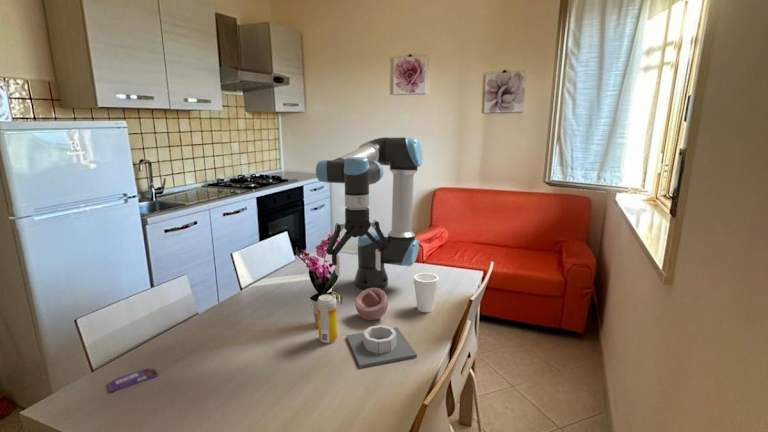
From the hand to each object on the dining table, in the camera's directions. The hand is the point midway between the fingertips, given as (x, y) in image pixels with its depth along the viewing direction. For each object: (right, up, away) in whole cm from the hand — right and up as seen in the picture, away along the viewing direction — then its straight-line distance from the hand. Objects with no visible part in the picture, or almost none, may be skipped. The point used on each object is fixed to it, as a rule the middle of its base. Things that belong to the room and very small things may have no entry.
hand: (358, 272), depth 129 cm
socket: (+7, -24, -1) cm, 25 cm away
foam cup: (+24, -18, +26) cm, 40 cm away
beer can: (-10, -23, +4) cm, 26 cm away
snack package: (-62, -29, -17) cm, 71 cm away
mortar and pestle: (+4, -20, +19) cm, 28 cm away
